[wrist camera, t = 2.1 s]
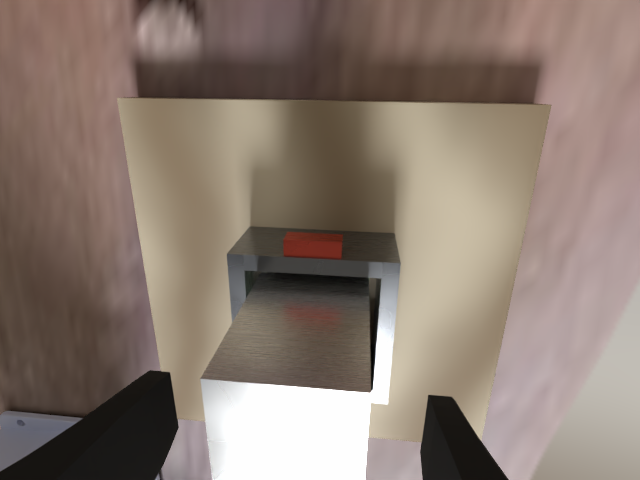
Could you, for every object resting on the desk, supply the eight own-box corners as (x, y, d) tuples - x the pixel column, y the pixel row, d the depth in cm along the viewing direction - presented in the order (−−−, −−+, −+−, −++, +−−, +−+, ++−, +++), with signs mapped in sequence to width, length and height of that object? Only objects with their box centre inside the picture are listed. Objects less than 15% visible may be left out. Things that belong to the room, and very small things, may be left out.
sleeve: (256, 346, 19) (237, 390, 16) (249, 212, 16) (225, 237, 14) (383, 356, 18) (387, 404, 15) (395, 218, 16) (402, 246, 13)
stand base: (180, 397, 22) (168, 417, 21) (137, 97, 17) (117, 97, 15) (471, 423, 21) (479, 447, 19) (534, 103, 15) (551, 105, 14)
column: (275, 331, 18) (212, 498, 11) (272, 249, 17) (198, 376, 9) (364, 338, 18) (364, 516, 10) (369, 254, 16) (373, 391, 9)
